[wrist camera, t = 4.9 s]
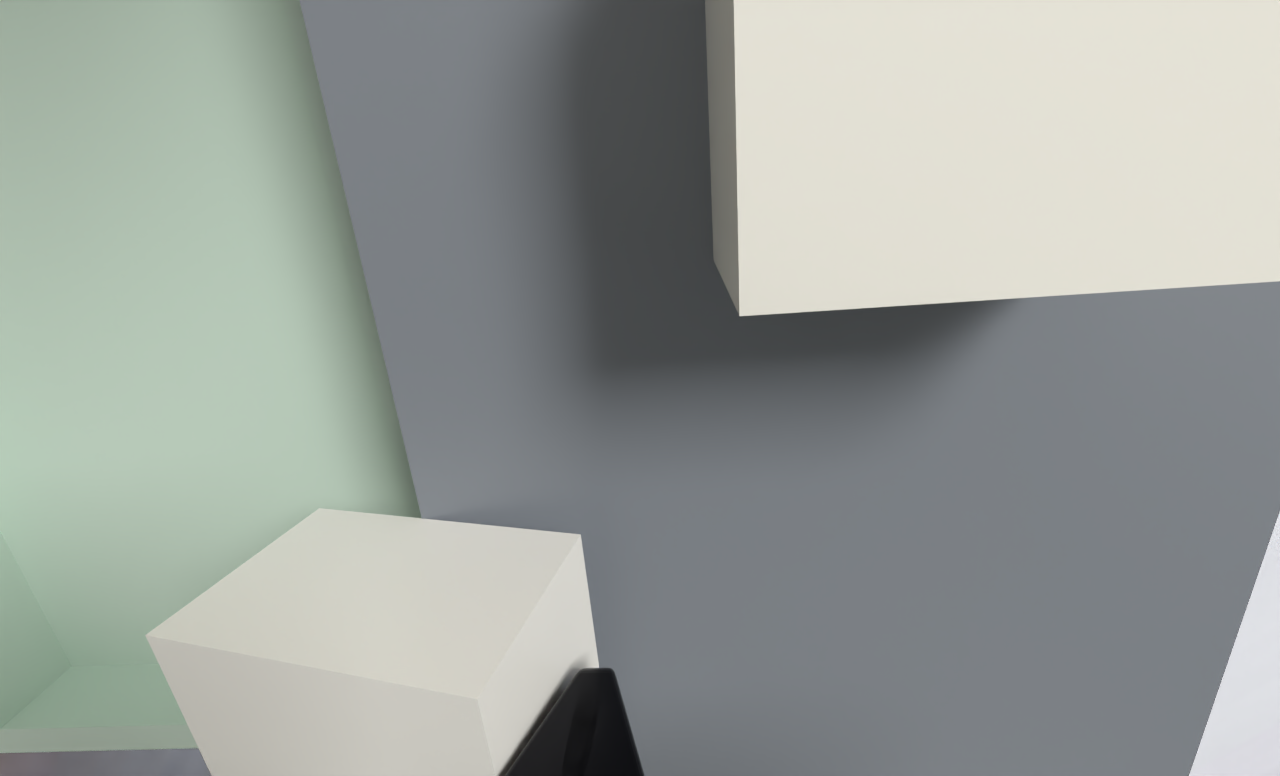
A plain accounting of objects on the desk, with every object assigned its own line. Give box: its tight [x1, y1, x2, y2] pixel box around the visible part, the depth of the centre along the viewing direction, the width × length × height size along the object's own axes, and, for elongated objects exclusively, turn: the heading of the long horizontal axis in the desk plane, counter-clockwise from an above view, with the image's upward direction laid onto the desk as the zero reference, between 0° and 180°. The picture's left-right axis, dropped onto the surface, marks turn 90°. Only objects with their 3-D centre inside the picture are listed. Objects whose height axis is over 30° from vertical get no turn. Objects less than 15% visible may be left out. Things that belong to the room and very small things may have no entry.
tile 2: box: [145, 508, 599, 776], centre depth 8 cm, size 4×4×2 cm
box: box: [0, 0, 422, 753], centre depth 10 cm, size 15×10×2 cm, turn 4°
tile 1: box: [705, 0, 1280, 316], centre depth 5 cm, size 4×4×2 cm
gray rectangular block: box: [299, 0, 1280, 776], centre depth 9 cm, size 15×11×3 cm
